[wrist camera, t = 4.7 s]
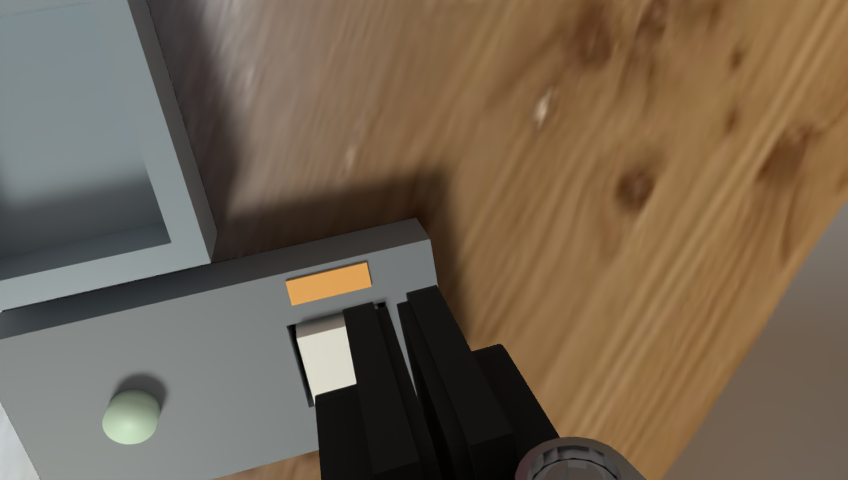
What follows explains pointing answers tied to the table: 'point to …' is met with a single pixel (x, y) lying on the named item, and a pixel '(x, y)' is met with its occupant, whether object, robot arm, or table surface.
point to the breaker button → (326, 353)
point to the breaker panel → (193, 359)
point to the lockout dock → (91, 153)
